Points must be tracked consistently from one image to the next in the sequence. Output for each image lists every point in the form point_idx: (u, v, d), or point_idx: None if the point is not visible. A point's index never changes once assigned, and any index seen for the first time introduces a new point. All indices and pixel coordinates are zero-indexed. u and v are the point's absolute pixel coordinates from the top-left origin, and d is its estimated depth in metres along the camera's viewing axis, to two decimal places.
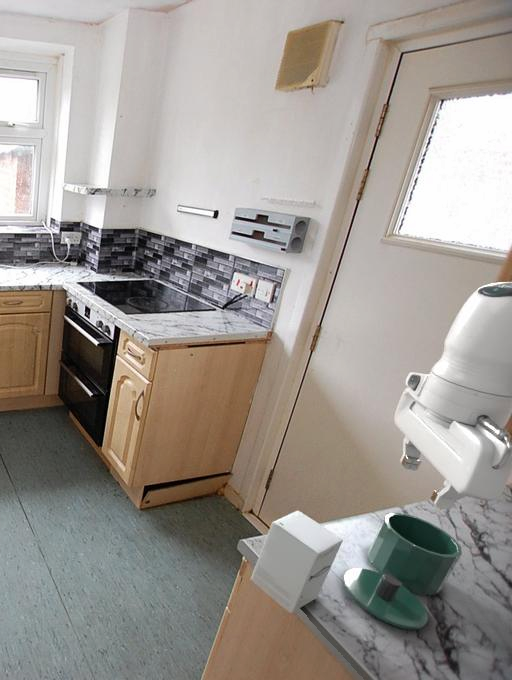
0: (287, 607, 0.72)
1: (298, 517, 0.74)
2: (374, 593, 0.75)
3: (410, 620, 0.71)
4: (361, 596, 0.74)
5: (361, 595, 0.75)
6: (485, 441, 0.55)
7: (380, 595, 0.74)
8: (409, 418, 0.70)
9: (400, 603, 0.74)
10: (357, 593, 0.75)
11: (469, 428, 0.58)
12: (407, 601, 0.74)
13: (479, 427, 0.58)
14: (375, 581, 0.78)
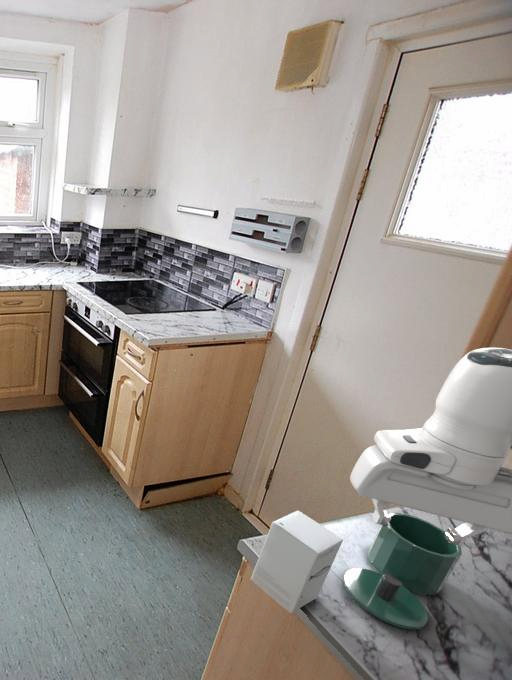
0: (287, 607, 0.72)
1: (298, 517, 0.74)
2: (374, 593, 0.75)
3: (410, 620, 0.71)
4: (361, 596, 0.74)
5: (361, 595, 0.75)
6: None
7: (380, 595, 0.74)
8: (394, 488, 0.68)
9: (400, 603, 0.74)
10: (357, 593, 0.75)
11: (500, 482, 0.63)
12: (407, 601, 0.74)
13: (497, 476, 0.64)
14: (375, 581, 0.78)
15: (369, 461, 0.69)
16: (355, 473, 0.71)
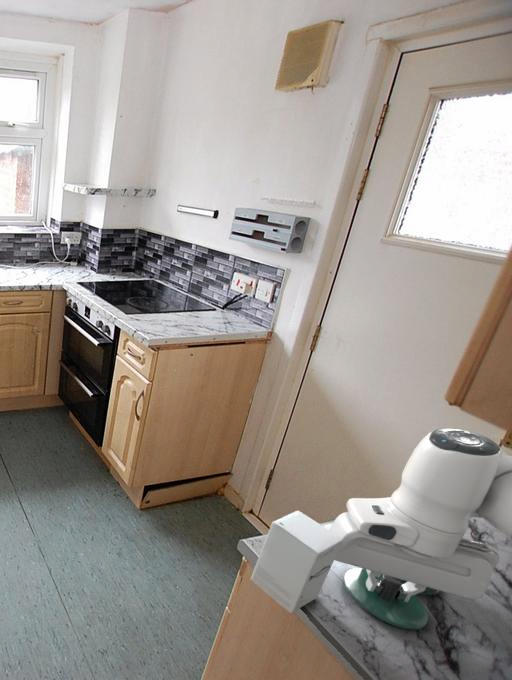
0: (287, 607, 0.72)
1: (298, 517, 0.74)
2: (374, 593, 0.75)
3: (410, 620, 0.71)
4: (361, 596, 0.74)
5: (361, 595, 0.75)
6: (485, 559, 0.67)
7: (381, 595, 0.74)
8: (364, 554, 0.72)
9: (400, 603, 0.74)
10: (357, 593, 0.75)
11: (461, 553, 0.68)
12: None
13: (458, 546, 0.69)
14: None
15: (341, 529, 0.74)
16: None
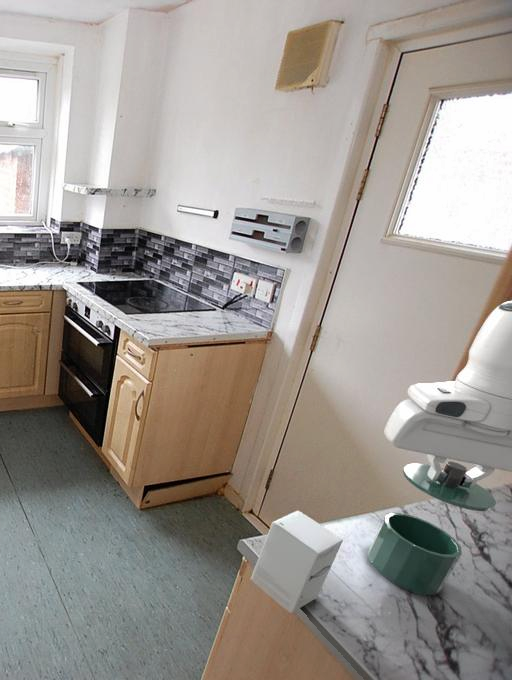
0: (287, 607, 0.72)
1: (298, 517, 0.74)
2: (437, 482, 0.73)
3: (478, 503, 0.69)
4: (425, 484, 0.72)
5: (424, 483, 0.73)
6: None
7: (444, 483, 0.72)
8: (429, 438, 0.70)
9: (465, 490, 0.72)
10: (420, 482, 0.73)
11: None
12: (472, 489, 0.72)
13: None
14: None
15: (404, 414, 0.71)
16: (389, 427, 0.74)
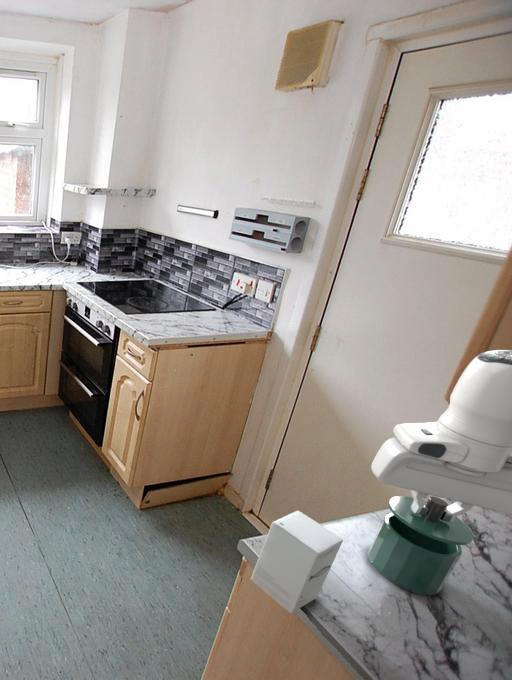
0: (287, 607, 0.72)
1: (298, 517, 0.74)
2: (420, 516, 0.78)
3: (457, 537, 0.74)
4: (408, 518, 0.77)
5: (408, 517, 0.77)
6: None
7: (426, 517, 0.77)
8: (412, 475, 0.75)
9: (446, 524, 0.77)
10: (404, 515, 0.78)
11: (508, 469, 0.71)
12: (452, 523, 0.77)
13: (505, 464, 0.72)
14: None
15: (389, 452, 0.76)
16: (376, 463, 0.79)
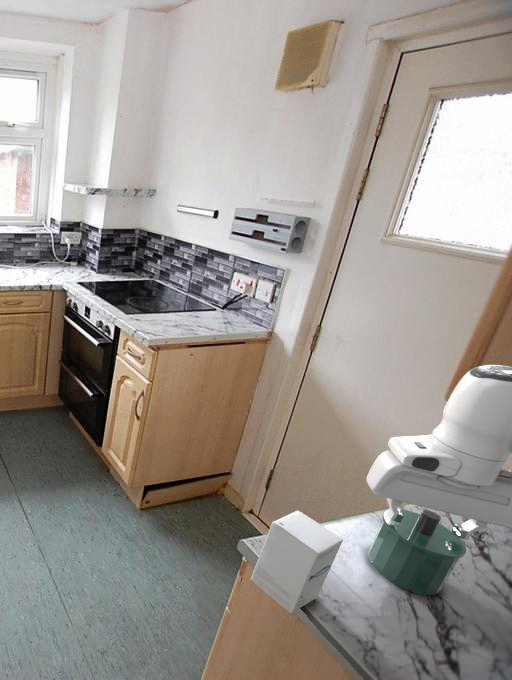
0: (287, 607, 0.72)
1: (298, 517, 0.74)
2: (413, 529, 0.79)
3: (450, 551, 0.75)
4: (401, 531, 0.78)
5: (401, 530, 0.78)
6: None
7: (420, 530, 0.78)
8: (406, 488, 0.76)
9: (439, 537, 0.78)
10: (397, 529, 0.79)
11: (501, 483, 0.72)
12: (445, 536, 0.78)
13: (498, 477, 0.72)
14: (413, 519, 0.81)
15: (383, 465, 0.77)
16: (370, 476, 0.80)
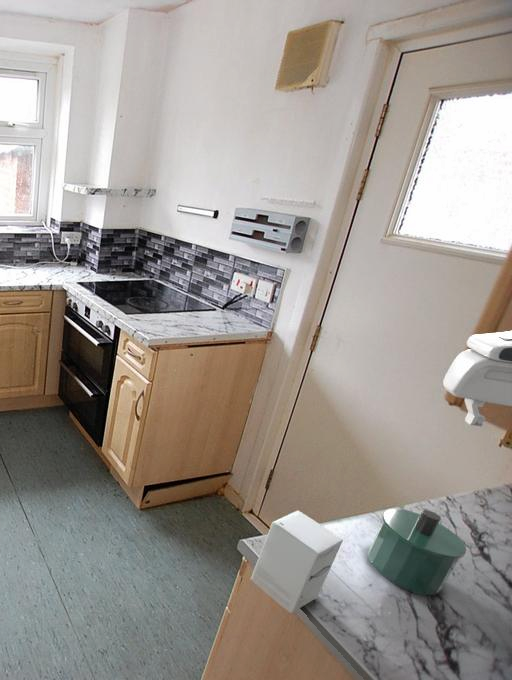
0: (287, 607, 0.72)
1: (298, 517, 0.74)
2: (413, 529, 0.79)
3: (450, 551, 0.75)
4: (401, 531, 0.78)
5: (401, 530, 0.78)
6: None
7: (420, 530, 0.78)
8: (490, 386, 0.72)
9: (439, 537, 0.78)
10: (397, 529, 0.79)
11: None
12: (445, 536, 0.78)
13: None
14: (413, 519, 0.81)
15: (464, 363, 0.73)
16: (448, 378, 0.75)
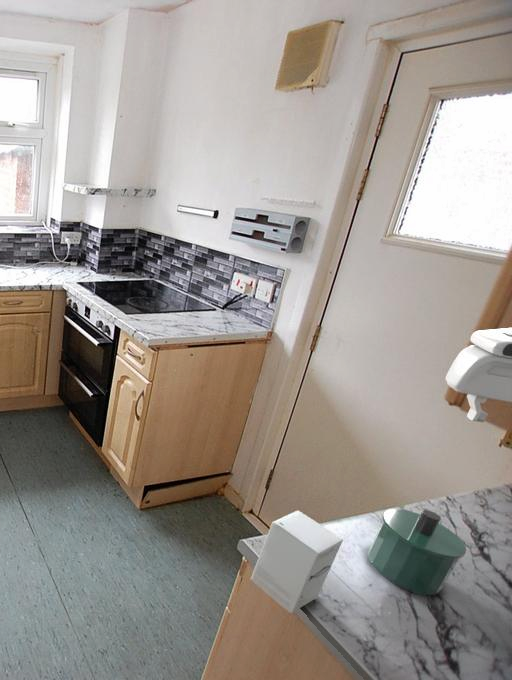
0: (287, 607, 0.72)
1: (298, 517, 0.74)
2: (413, 529, 0.79)
3: (450, 551, 0.75)
4: (401, 531, 0.78)
5: (401, 530, 0.78)
6: None
7: (420, 530, 0.78)
8: (493, 381, 0.72)
9: (439, 537, 0.78)
10: (397, 529, 0.79)
11: None
12: (445, 536, 0.78)
13: None
14: (413, 519, 0.81)
15: (468, 359, 0.73)
16: (451, 373, 0.75)
